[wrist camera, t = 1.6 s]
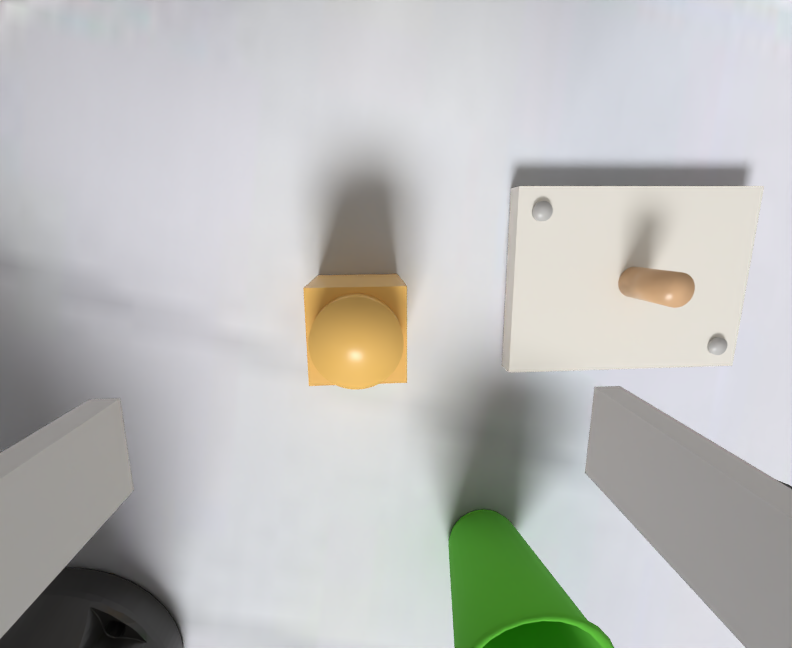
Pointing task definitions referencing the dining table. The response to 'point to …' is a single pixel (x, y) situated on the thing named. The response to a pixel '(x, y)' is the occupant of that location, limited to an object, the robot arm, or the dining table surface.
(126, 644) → the robot arm
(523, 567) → the cup
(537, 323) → the lid
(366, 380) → the ball on cube
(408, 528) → the dining table surface
